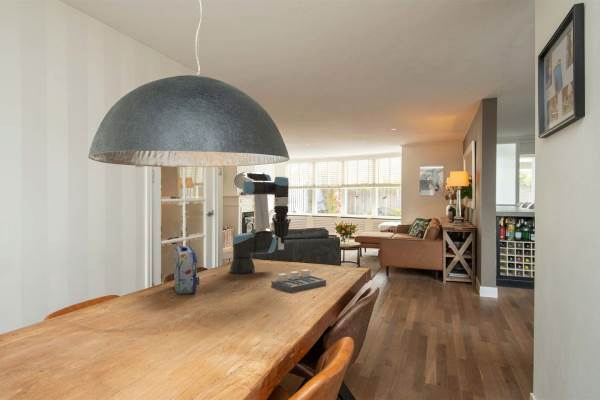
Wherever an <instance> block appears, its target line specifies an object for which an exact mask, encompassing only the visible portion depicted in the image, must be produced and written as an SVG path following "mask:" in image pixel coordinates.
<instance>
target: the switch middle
mask: <svg viewBox="0 0 600 400" xmlns="http://www.w3.org/2000/svg"><path fill="white" fill-rule="evenodd" d="M299 276H300V272H299V271H289V277H288V278H290V279H293V280H295V279H299Z"/></svg>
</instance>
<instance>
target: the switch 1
mask: <svg viewBox="0 0 600 400" xmlns="http://www.w3.org/2000/svg"><path fill="white" fill-rule="evenodd" d="M287 278H288V274H287V273H284V272H282V273H278V274H277V278H276V280H277V281H280V282H284V281H287Z"/></svg>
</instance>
